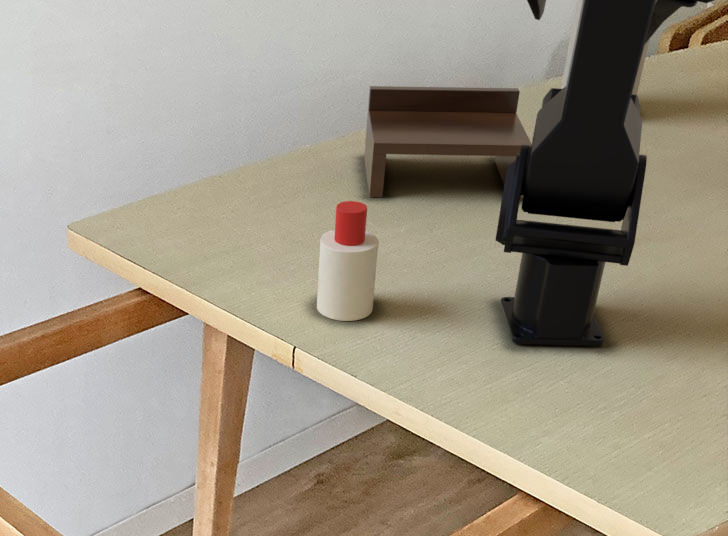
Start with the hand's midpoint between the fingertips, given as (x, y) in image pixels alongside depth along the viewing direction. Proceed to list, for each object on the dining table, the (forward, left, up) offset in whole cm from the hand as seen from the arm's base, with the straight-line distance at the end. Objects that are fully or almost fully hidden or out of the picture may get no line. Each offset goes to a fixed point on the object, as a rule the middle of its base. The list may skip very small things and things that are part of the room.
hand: (590, 28), depth 93 cm
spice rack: (+1, +11, -14) cm, 18 cm away
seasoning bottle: (-26, +21, -14) cm, 37 cm away
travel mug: (+22, -8, -14) cm, 27 cm away
